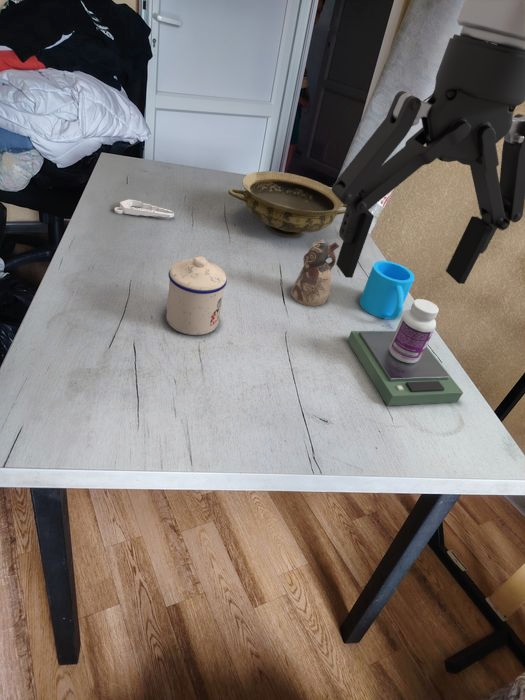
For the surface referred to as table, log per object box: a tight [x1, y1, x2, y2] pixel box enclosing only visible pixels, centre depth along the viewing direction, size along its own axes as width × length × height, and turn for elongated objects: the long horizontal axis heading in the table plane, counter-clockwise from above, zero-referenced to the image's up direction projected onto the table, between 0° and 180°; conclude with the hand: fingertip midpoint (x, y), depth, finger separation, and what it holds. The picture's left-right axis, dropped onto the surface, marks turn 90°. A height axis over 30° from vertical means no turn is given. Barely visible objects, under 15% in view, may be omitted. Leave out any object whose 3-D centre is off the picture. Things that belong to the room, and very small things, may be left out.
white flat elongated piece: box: [114, 199, 175, 219], centre depth 108 cm, size 13×5×2 cm, turn 94°
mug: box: [359, 260, 415, 321], centre depth 92 cm, size 12×8×8 cm
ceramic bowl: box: [227, 170, 347, 237], centre depth 114 cm, size 30×24×10 cm
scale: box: [347, 330, 464, 407], centre depth 80 cm, size 16×13×3 cm
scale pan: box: [359, 332, 449, 382], centre depth 80 cm, size 12×11×1 cm
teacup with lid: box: [166, 255, 228, 336], centre depth 77 cm, size 12×9×12 cm
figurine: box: [290, 238, 340, 307], centre depth 90 cm, size 7×7×12 cm
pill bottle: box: [389, 298, 440, 363], centre depth 76 cm, size 5×5×10 cm
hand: (401, 274), depth 51 cm, fingers open, 13 cm apart
